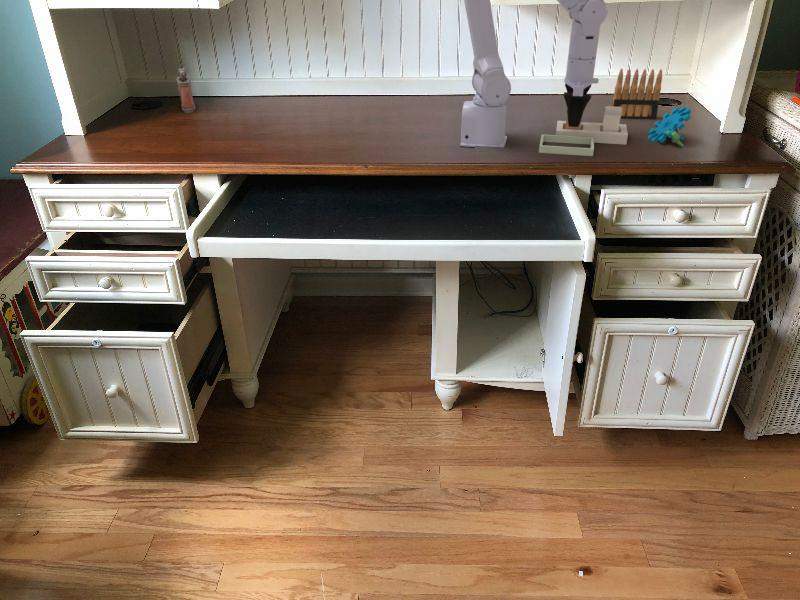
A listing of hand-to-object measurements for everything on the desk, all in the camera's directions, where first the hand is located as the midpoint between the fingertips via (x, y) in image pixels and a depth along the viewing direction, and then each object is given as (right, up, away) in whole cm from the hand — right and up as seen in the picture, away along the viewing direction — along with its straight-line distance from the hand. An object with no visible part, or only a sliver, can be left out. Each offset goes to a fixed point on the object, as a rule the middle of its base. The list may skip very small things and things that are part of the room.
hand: (573, 121), depth 142 cm
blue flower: (+20, -5, -1) cm, 21 cm away
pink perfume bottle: (-95, +11, +28) cm, 99 cm away
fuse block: (+4, -4, +1) cm, 6 cm away
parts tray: (-3, -8, -5) cm, 10 cm away
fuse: (+8, -4, 0) cm, 9 cm away
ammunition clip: (+18, +4, +13) cm, 22 cm away
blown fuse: (0, -3, +2) cm, 3 cm away
